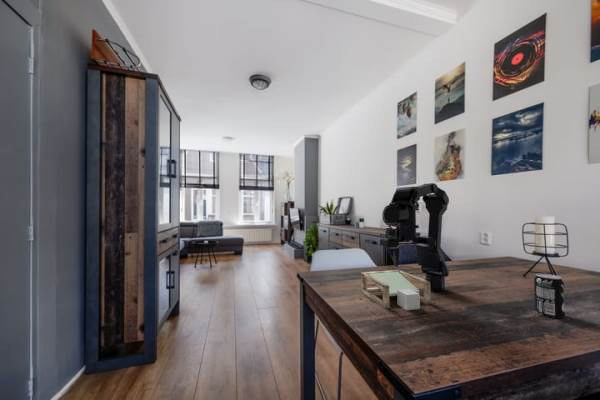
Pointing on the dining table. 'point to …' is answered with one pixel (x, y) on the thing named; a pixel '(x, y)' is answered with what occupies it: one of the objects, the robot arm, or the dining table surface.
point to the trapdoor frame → (386, 287)
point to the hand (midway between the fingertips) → (408, 266)
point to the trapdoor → (394, 282)
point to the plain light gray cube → (408, 299)
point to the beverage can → (549, 295)
